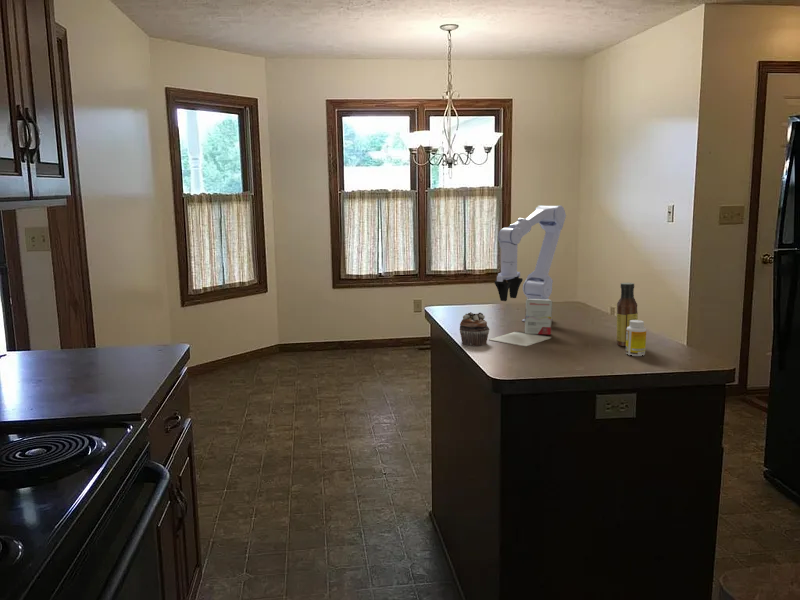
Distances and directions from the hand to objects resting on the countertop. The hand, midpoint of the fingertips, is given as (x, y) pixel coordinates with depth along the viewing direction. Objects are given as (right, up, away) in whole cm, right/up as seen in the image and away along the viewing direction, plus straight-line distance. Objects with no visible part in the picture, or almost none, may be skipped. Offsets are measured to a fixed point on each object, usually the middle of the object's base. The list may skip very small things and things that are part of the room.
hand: (508, 299), depth 232 cm
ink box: (+8, -12, -10) cm, 17 cm away
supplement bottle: (+31, -17, -39) cm, 53 cm away
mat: (+1, -13, -18) cm, 22 cm away
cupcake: (-15, -14, -23) cm, 31 cm away
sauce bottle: (+33, -15, -27) cm, 45 cm away
